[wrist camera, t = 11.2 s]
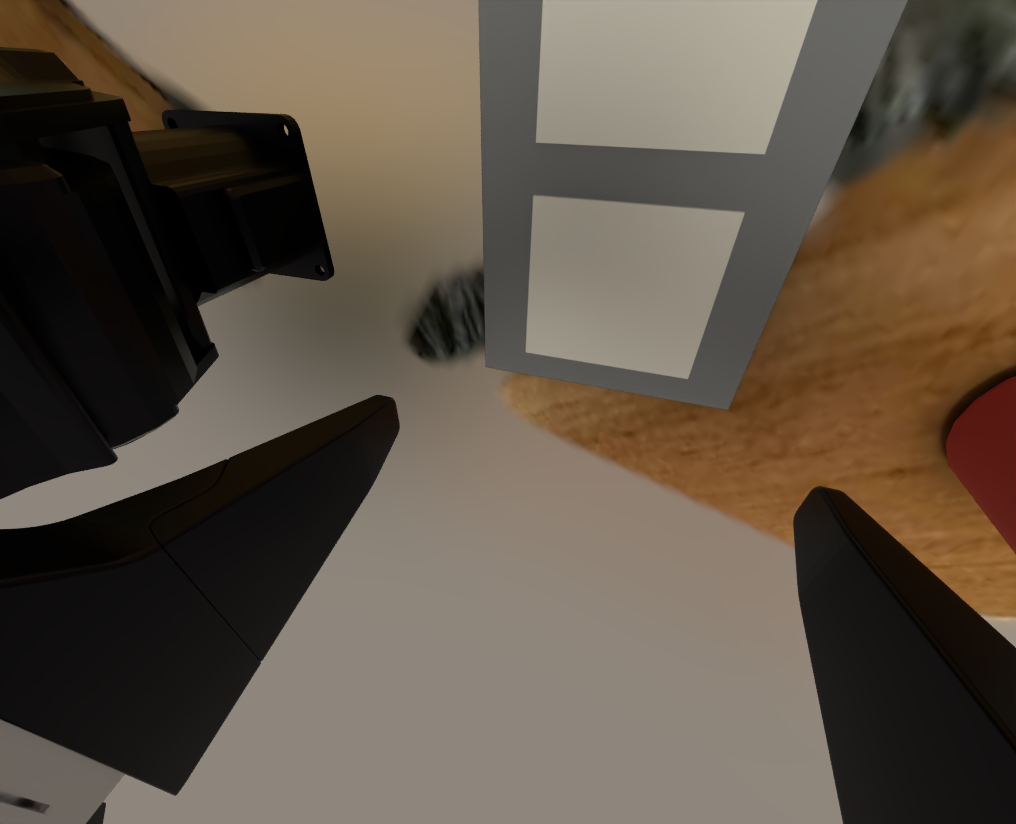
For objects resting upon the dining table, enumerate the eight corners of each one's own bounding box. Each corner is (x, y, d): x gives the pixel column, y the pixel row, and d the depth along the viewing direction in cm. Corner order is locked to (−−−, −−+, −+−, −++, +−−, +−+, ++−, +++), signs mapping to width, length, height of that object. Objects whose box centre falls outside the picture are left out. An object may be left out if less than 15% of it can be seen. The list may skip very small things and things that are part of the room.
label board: (489, 360, 21) (484, 369, 20) (482, -241, 10) (470, -262, 9) (726, 402, 18) (728, 412, 18) (1040, -330, 8) (1072, -365, 7)
